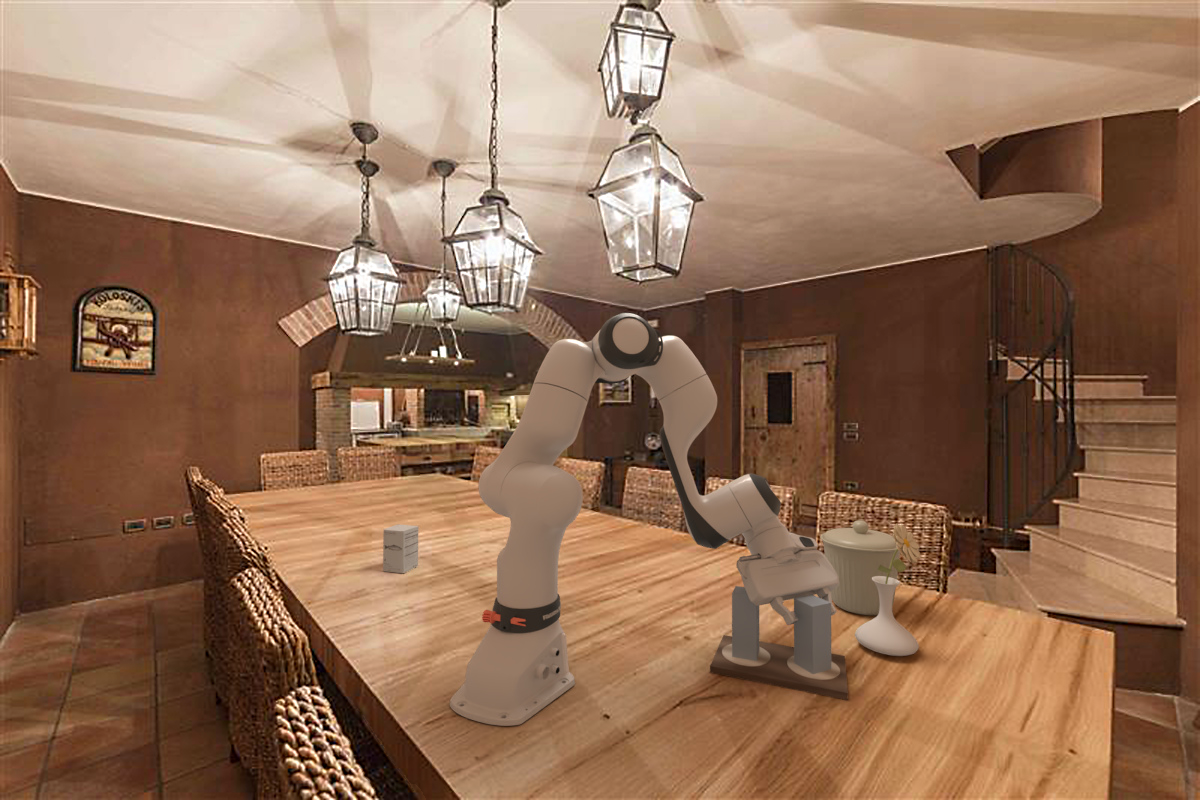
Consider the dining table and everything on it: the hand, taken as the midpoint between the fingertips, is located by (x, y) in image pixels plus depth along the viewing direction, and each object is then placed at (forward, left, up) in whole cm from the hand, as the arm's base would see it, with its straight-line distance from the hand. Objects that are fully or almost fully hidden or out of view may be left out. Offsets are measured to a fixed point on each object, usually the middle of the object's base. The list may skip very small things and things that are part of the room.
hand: (812, 618), depth 96 cm
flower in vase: (+17, -14, -10) cm, 24 cm away
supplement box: (+17, +115, -10) cm, 117 cm away
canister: (+38, -10, -10) cm, 41 cm away
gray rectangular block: (0, 0, -9) cm, 9 cm away
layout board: (0, +6, -10) cm, 12 cm away
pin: (0, +12, -9) cm, 15 cm away
